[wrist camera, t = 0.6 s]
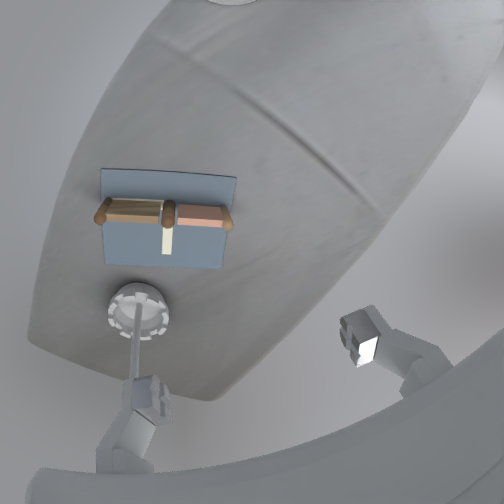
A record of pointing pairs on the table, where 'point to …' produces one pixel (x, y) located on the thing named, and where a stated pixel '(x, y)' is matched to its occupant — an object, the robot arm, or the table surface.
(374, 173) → the table surface
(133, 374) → the flag stand
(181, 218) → the fence section
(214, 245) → the board
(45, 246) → the table surface
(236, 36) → the table surface
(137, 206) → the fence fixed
